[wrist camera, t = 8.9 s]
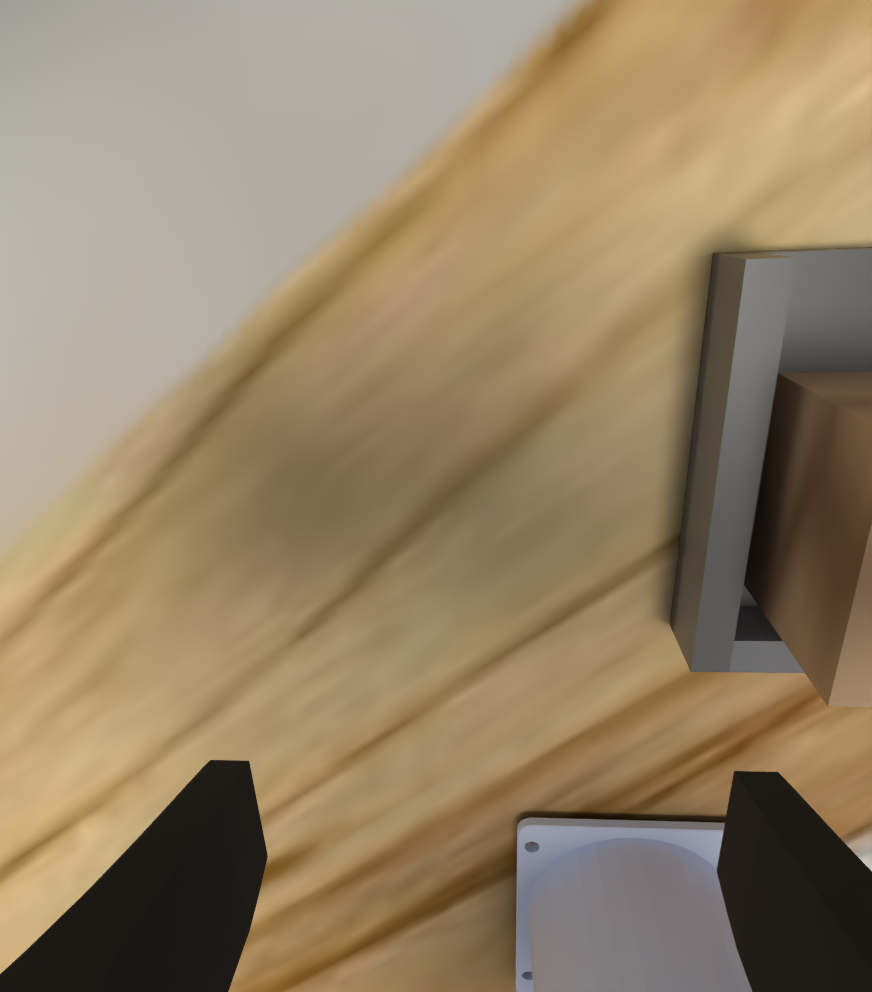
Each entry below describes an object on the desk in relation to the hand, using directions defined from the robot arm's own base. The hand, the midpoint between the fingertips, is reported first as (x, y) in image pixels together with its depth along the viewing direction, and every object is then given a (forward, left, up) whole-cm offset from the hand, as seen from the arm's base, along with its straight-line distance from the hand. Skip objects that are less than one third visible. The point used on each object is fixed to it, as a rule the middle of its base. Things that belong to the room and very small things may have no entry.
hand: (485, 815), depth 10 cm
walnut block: (+1, -9, -9) cm, 13 cm away
